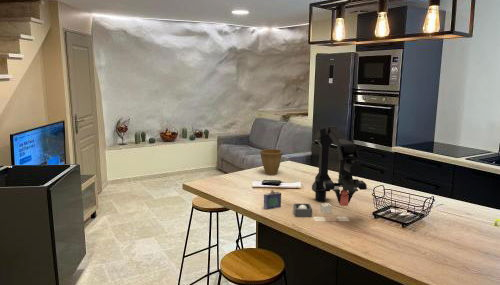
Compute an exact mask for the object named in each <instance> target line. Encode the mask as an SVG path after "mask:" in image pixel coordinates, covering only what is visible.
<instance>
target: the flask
mask: <svg viewBox="0 0 500 285" xmlns="http://www.w3.org/2000/svg"><path fill="white" fill-rule="evenodd" d="M281 207H282V192H280V191H274V189H270V192H268V193H267V192H266V193H264V194H263V210H272V209H277V208H278V209H279V208H281Z"/></svg>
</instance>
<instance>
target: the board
mask: <svg viewBox="0 0 500 285" xmlns="http://www.w3.org/2000/svg"><path fill="white" fill-rule="evenodd" d="M312 218H313V219H314V221H315V222H326V221H327V222H338V221H339V222H350V219H349V218H348V216H312Z"/></svg>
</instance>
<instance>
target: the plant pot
mask: <svg viewBox="0 0 500 285" xmlns="http://www.w3.org/2000/svg"><path fill="white" fill-rule="evenodd" d="M259 153H260V158H261V163H262V166H263V170H264V173H265V175H266V176H267V175H268V176H275V175H277V174H278V172H279V171H278V170H279V168H280V165H281V160H282V156H283V150H281V149H277V148H275V149H274V148H268V149H267V148H266V149H262V150H260V152H259Z"/></svg>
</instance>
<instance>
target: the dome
mask: <svg viewBox="0 0 500 285" xmlns="http://www.w3.org/2000/svg"><path fill="white" fill-rule="evenodd" d="M298 209H307V207H306V206H305V205H300V206H299V207H298Z"/></svg>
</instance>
